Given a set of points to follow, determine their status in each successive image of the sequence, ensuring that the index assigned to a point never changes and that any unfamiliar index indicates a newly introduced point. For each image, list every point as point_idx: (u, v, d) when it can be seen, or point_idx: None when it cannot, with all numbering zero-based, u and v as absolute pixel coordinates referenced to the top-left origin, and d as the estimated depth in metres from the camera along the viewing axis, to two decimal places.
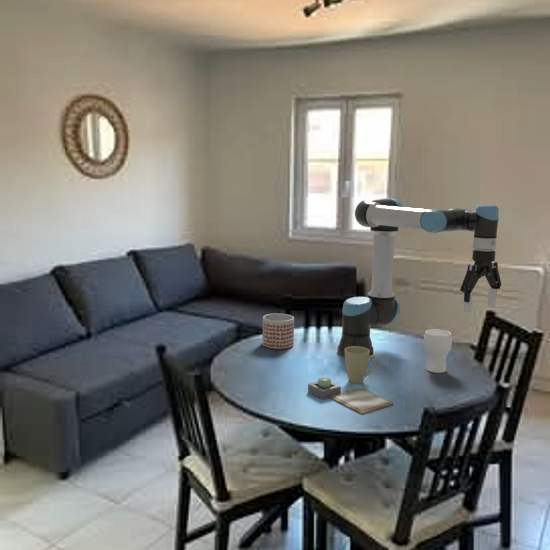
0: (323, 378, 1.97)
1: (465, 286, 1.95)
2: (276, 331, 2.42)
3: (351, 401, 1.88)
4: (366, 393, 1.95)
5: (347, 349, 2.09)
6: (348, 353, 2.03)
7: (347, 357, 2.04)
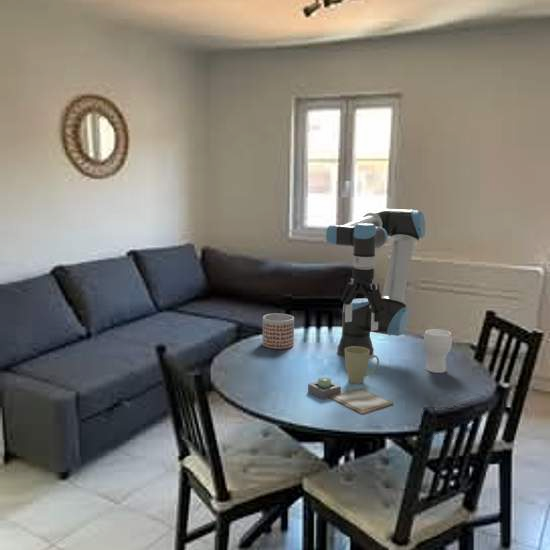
0: (323, 378, 1.97)
1: None
2: (276, 331, 2.42)
3: (351, 401, 1.88)
4: (366, 393, 1.95)
5: (347, 349, 2.09)
6: (348, 353, 2.03)
7: (347, 357, 2.04)
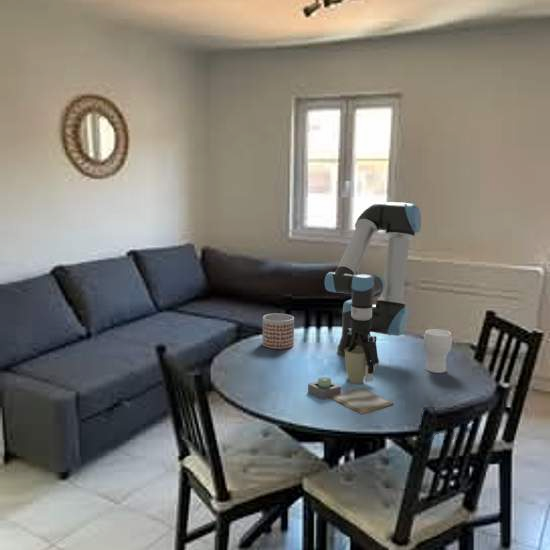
0: (323, 378, 1.97)
1: None
2: (276, 331, 2.42)
3: (351, 401, 1.88)
4: (366, 393, 1.95)
5: (347, 349, 2.09)
6: (348, 353, 2.03)
7: (347, 357, 2.04)
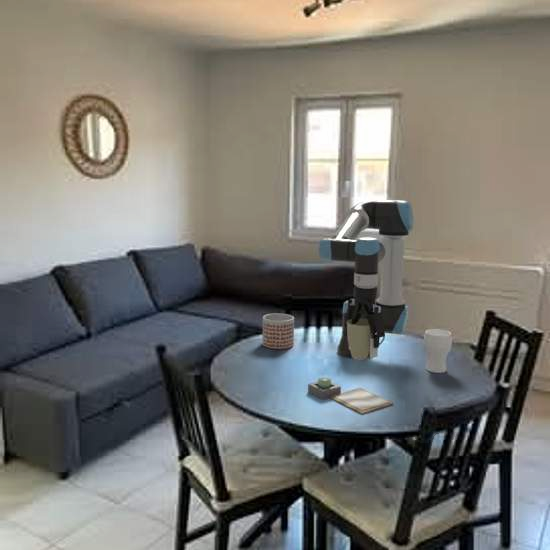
0: (323, 378, 1.97)
1: None
2: (276, 331, 2.42)
3: (351, 401, 1.88)
4: (366, 393, 1.95)
5: (350, 321, 1.88)
6: (351, 326, 1.83)
7: (350, 330, 1.83)
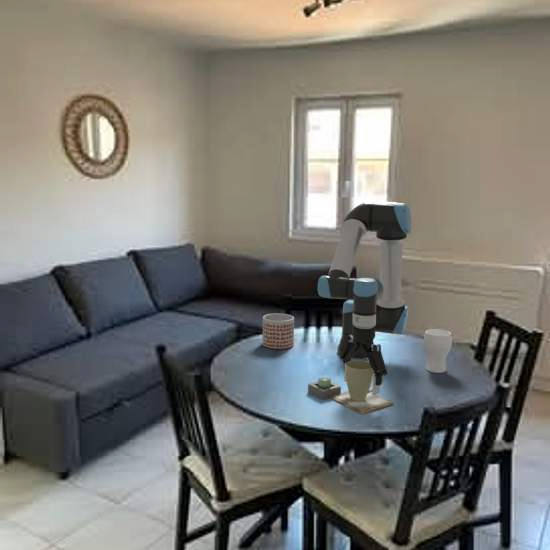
0: (323, 378, 1.97)
1: None
2: (276, 331, 2.42)
3: (351, 401, 1.88)
4: None
5: (349, 363, 1.91)
6: (350, 369, 1.85)
7: (349, 372, 1.86)
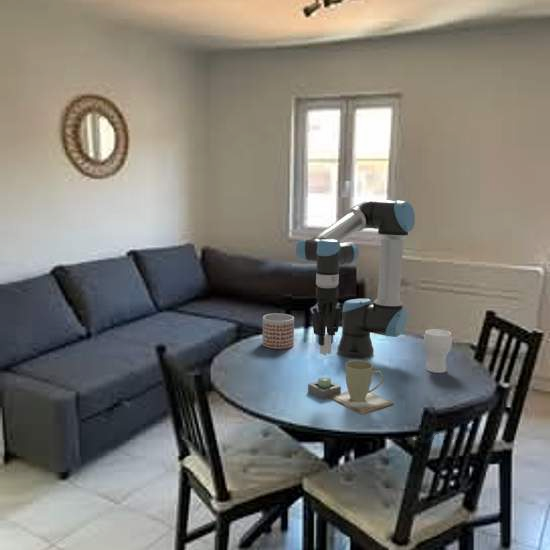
0: (323, 378, 1.97)
1: (316, 330, 1.89)
2: (276, 331, 2.42)
3: (351, 401, 1.88)
4: None
5: (348, 363, 1.91)
6: (349, 369, 1.85)
7: (348, 373, 1.86)
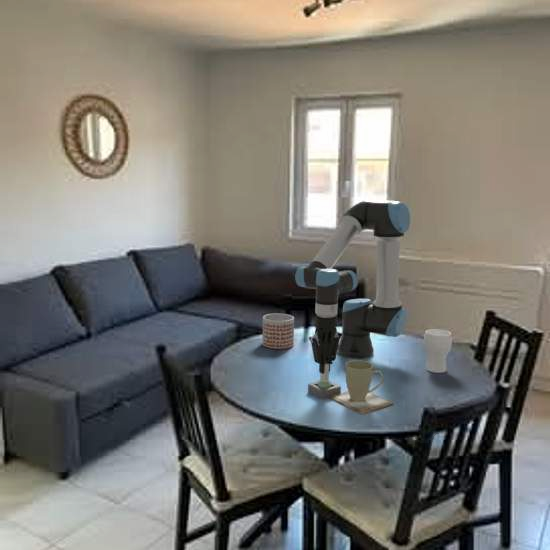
0: None
1: (316, 359, 1.92)
2: (276, 331, 2.42)
3: (351, 401, 1.88)
4: None
5: (348, 363, 1.91)
6: (349, 369, 1.85)
7: (348, 373, 1.86)
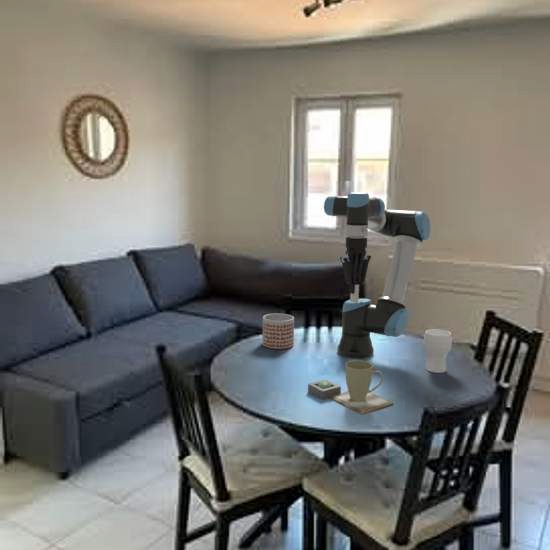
0: (323, 382, 1.97)
1: (347, 279, 2.01)
2: (276, 331, 2.42)
3: (351, 401, 1.88)
4: None
5: (348, 363, 1.91)
6: (349, 369, 1.85)
7: (348, 373, 1.86)
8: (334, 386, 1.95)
